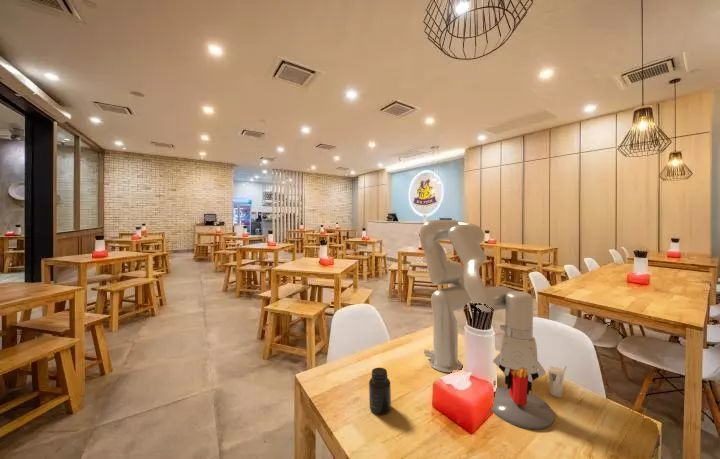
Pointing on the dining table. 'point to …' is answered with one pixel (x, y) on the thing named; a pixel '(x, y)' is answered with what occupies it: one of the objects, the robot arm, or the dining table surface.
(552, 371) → the milkshake
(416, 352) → the dining table surface
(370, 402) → the supplement bottle
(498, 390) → the plate
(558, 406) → the dining table surface
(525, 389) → the french fries
